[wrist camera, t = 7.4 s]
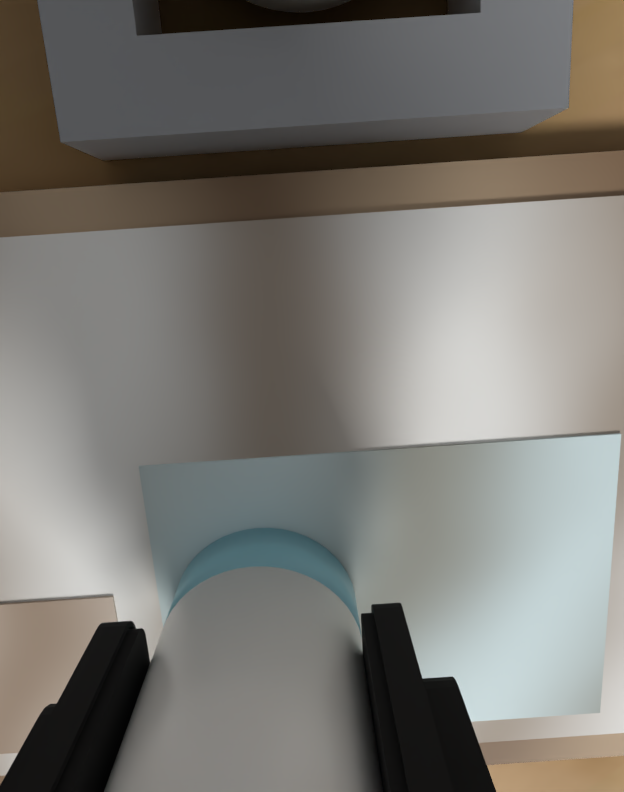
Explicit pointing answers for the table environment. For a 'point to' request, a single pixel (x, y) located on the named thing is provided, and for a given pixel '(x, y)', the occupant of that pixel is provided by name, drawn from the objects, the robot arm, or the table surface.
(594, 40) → the table surface
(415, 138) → the grey square frame
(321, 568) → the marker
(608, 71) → the table surface
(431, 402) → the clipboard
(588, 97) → the table surface
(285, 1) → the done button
